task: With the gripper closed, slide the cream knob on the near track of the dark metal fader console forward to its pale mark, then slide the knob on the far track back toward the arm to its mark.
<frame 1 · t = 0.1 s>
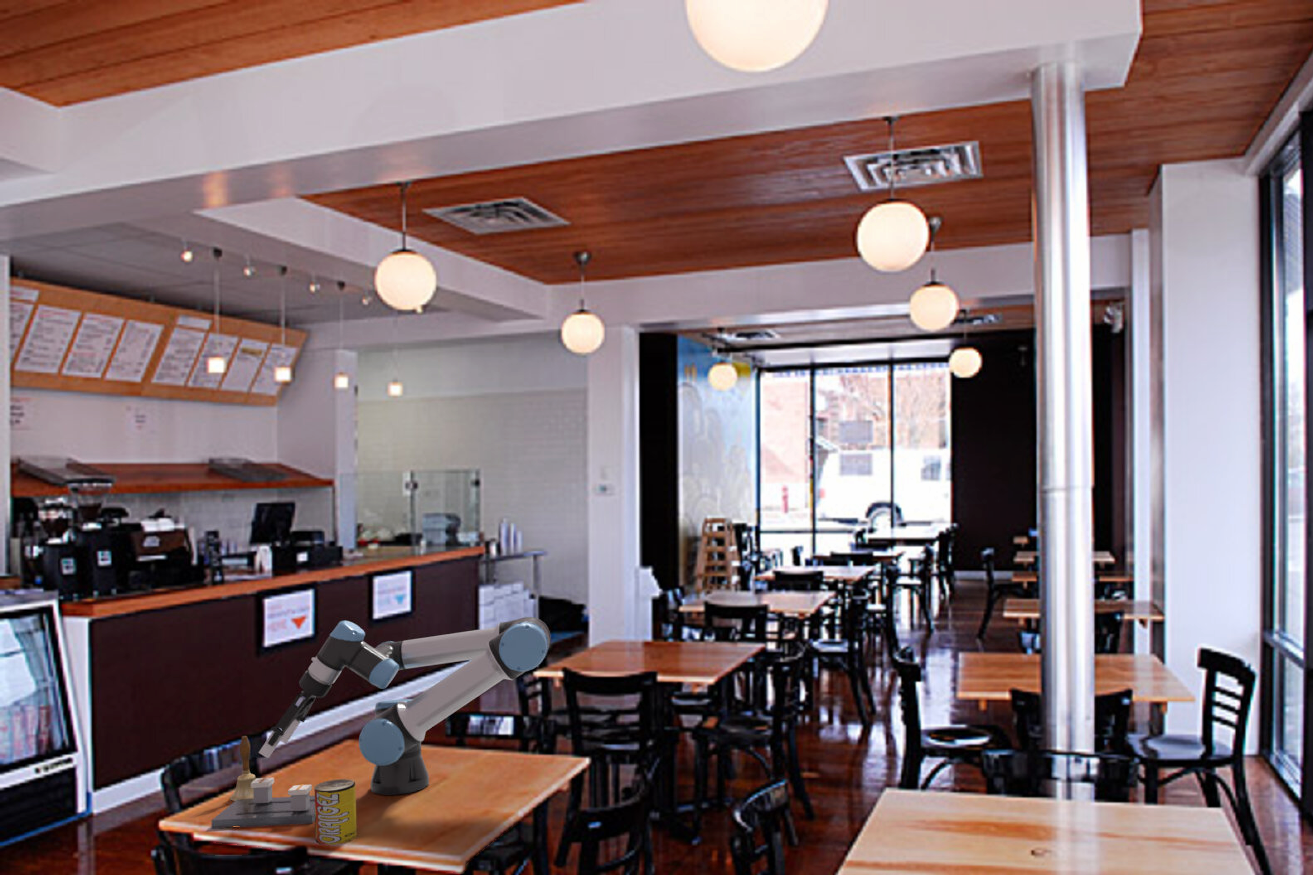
hand: (272, 747, 258), 15 cm above the table, tool tilted 35°, fingers open, 13 cm apart
beverage can: (336, 838, 234), on the table
hand bell: (246, 797, 269), on the table
fader near: (300, 797, 249), point 5 cm above the table, slide at 0.0 cm
console: (273, 815, 252), on the table
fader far: (262, 790, 256), point 5 cm above the table, slide at 12.0 cm
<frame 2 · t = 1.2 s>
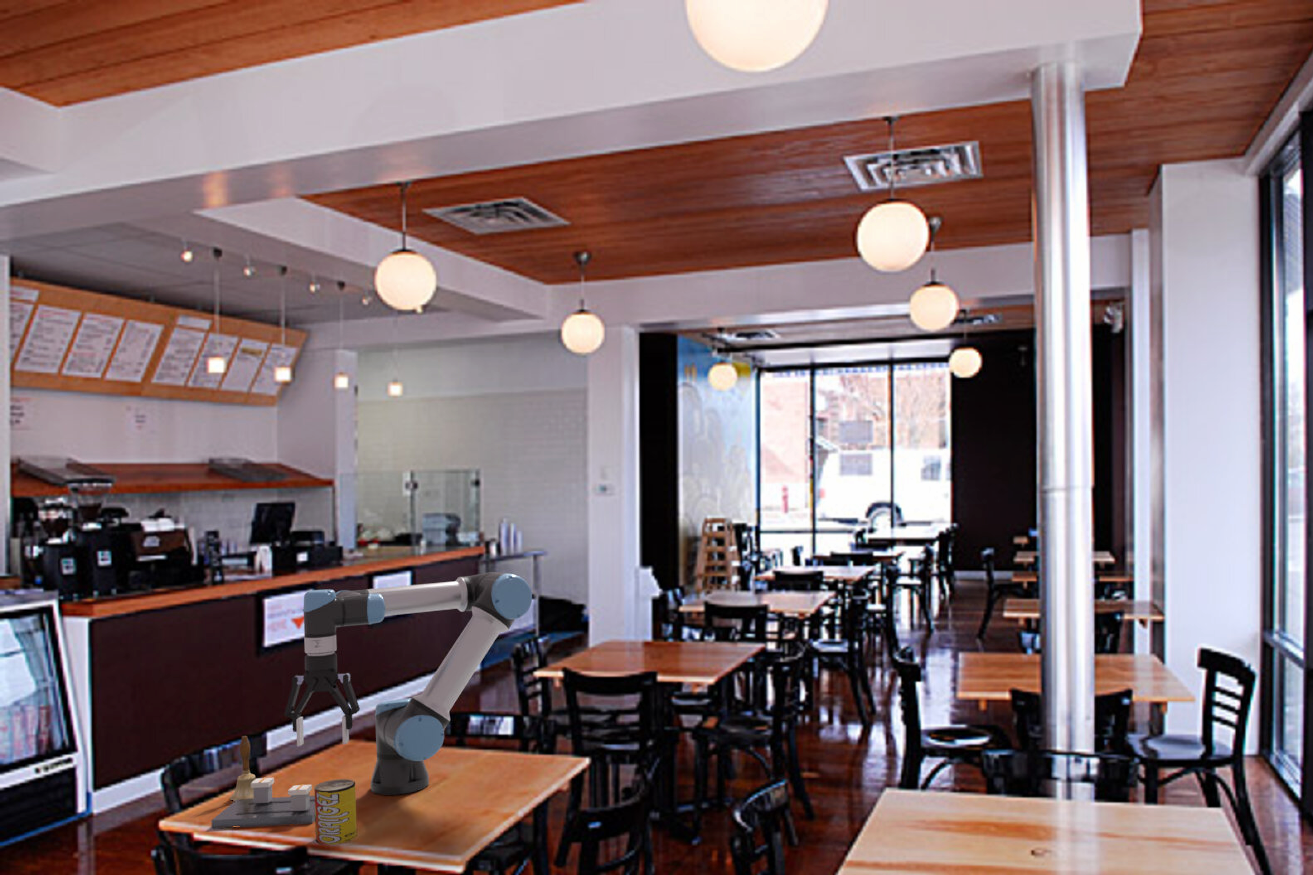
hand: (323, 743, 249), 18 cm above the table, tool pointing down, fingers open, 10 cm apart
nothing on the table moved.
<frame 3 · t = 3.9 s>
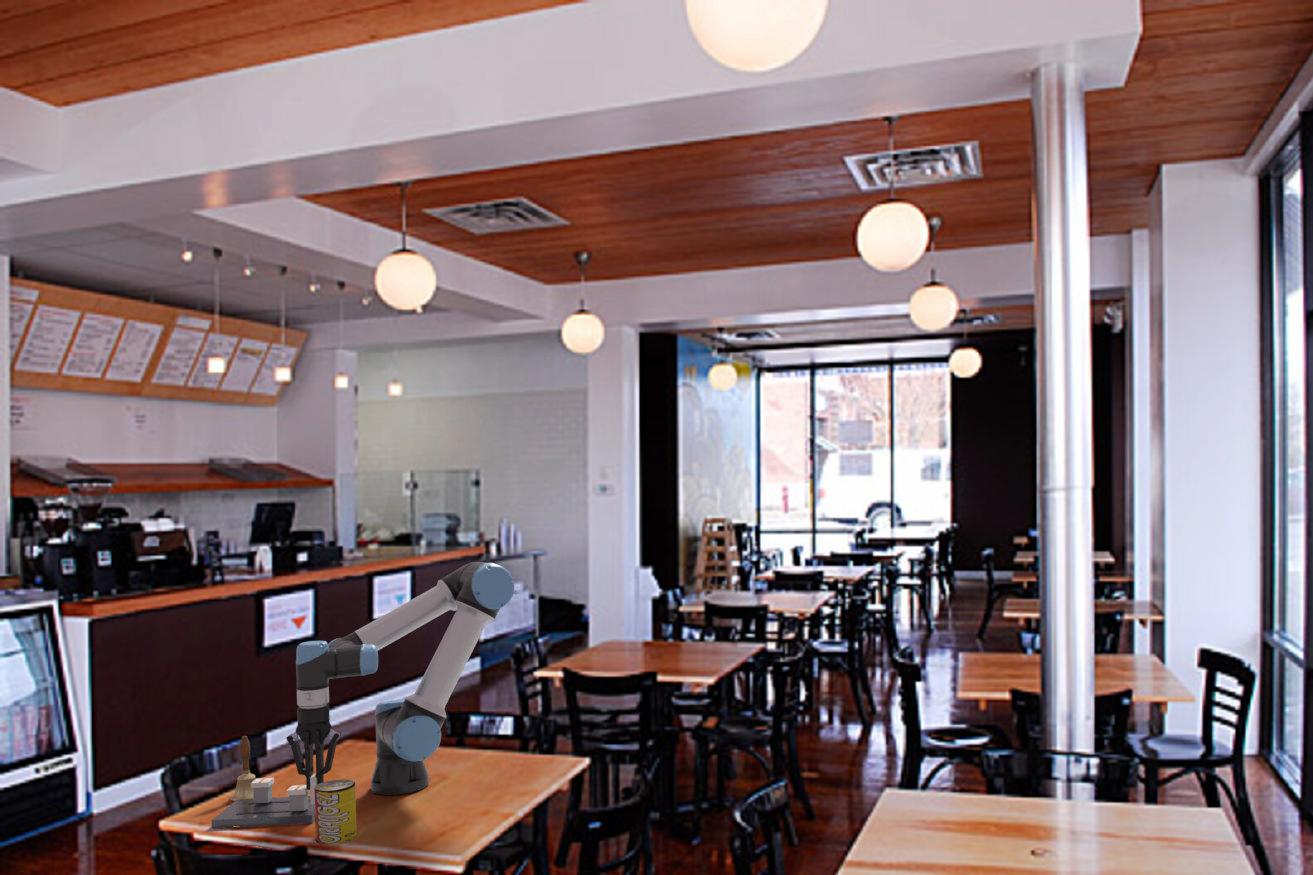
hand: (315, 802, 249), 4 cm above the table, tool pointing down, fingers closed
fader near: (298, 797, 249), point 5 cm above the table, slide at 0.4 cm, touching gripper
everything else where it was.
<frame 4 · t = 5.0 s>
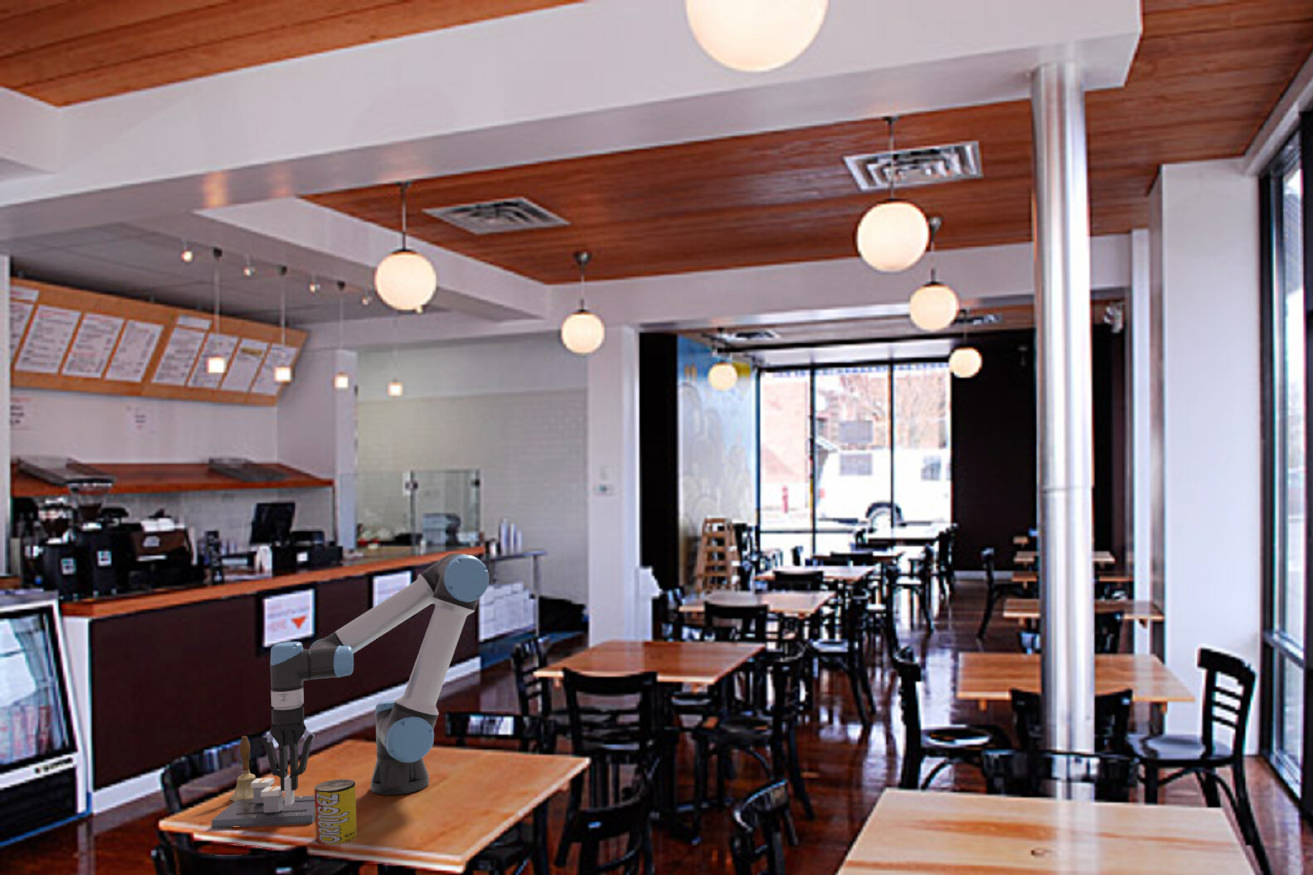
hand: (289, 803, 248), 4 cm above the table, tool pointing down, fingers closed
fader near: (273, 799, 248), point 5 cm above the table, slide at 6.6 cm, touching gripper
everything else where it was.
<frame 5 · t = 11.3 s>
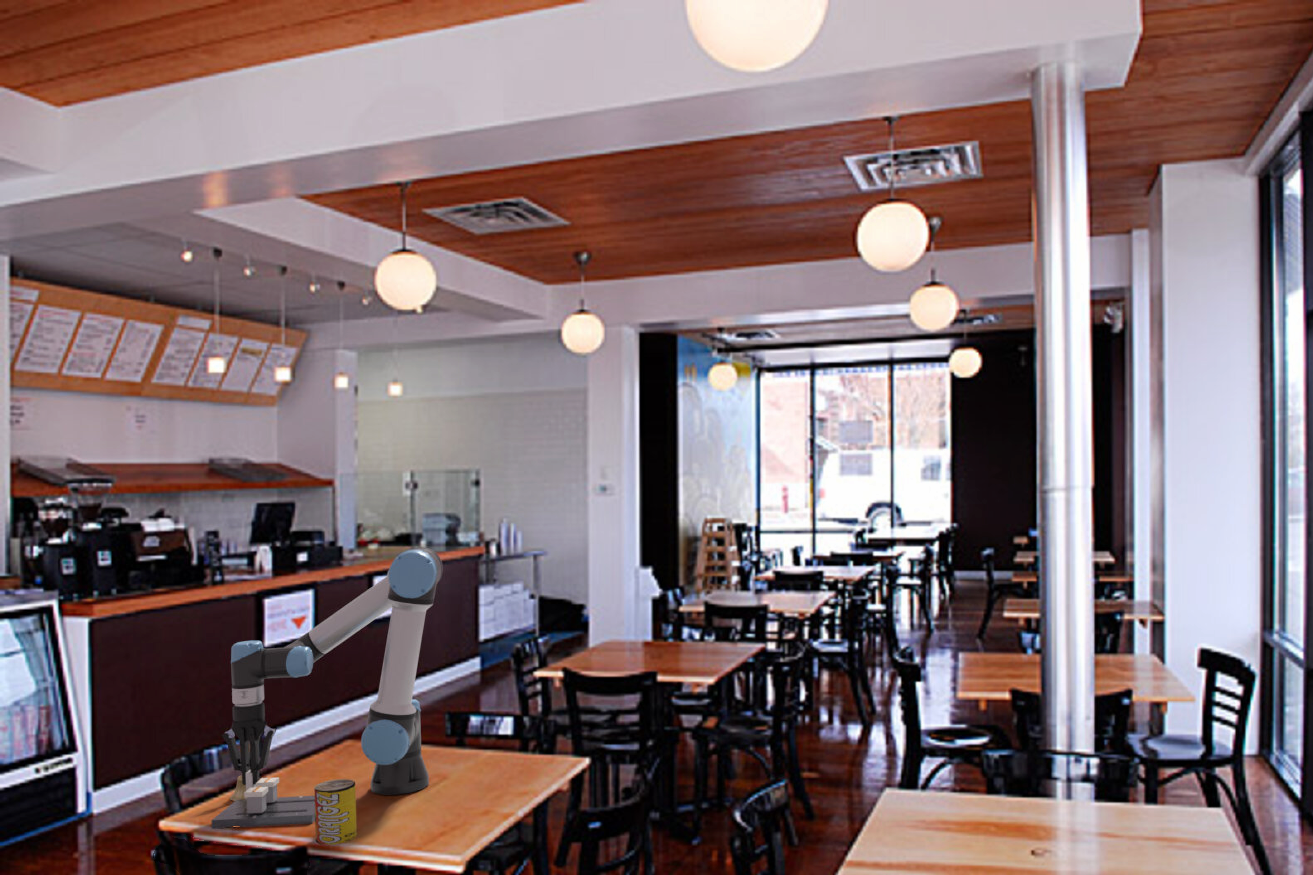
hand: (251, 797, 256), 4 cm above the table, tool pointing down, fingers closed
fader near: (256, 799, 248), point 5 cm above the table, slide at 10.6 cm
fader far: (267, 790, 256), point 5 cm above the table, slide at 10.7 cm, touching gripper
everything else where it was.
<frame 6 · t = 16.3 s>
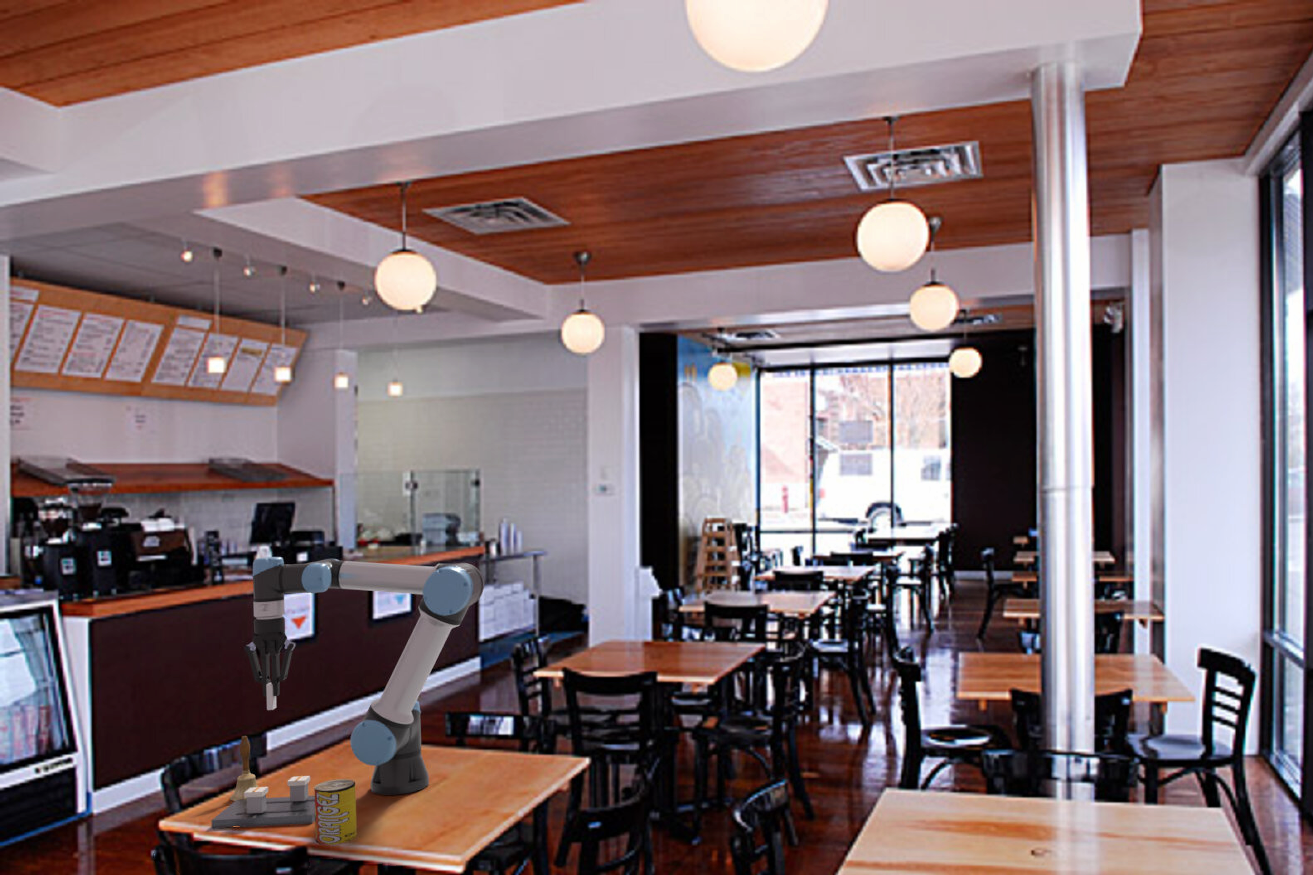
hand: (271, 708, 262), 24 cm above the table, tool pointing down, fingers closed
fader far: (299, 788, 257), point 5 cm above the table, slide at 2.9 cm
everything else where it was.
at the end: fader near slide at 10.6 cm; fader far slide at 2.9 cm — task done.
